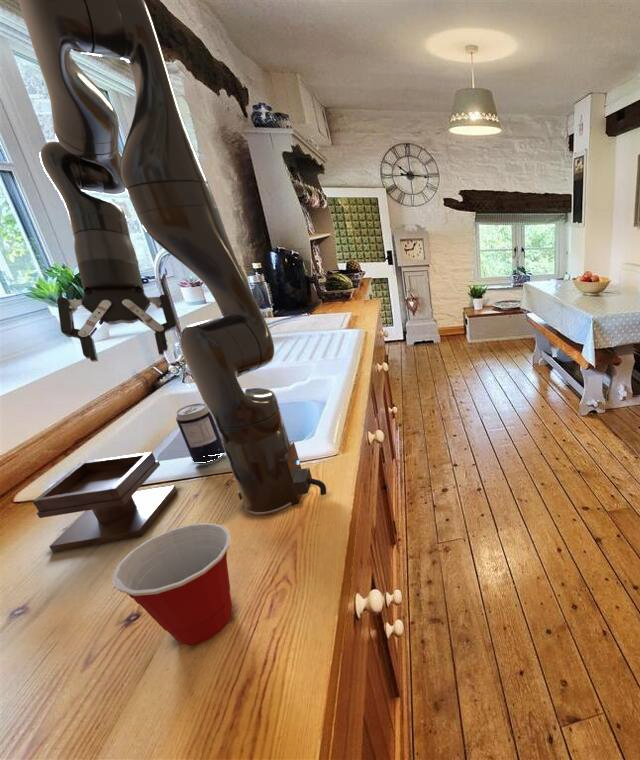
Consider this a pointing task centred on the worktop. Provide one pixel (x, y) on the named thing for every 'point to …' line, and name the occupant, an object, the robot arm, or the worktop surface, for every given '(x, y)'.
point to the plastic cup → (181, 580)
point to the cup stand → (105, 500)
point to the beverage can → (200, 433)
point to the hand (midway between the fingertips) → (129, 357)
